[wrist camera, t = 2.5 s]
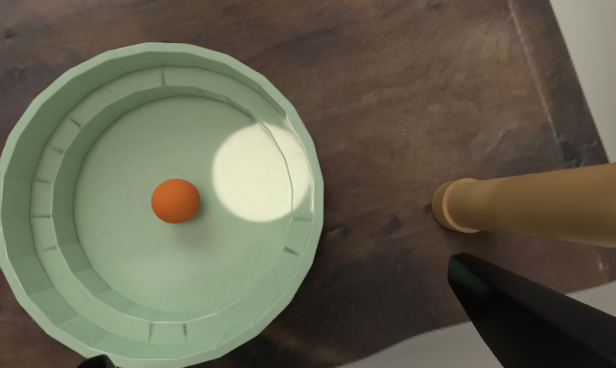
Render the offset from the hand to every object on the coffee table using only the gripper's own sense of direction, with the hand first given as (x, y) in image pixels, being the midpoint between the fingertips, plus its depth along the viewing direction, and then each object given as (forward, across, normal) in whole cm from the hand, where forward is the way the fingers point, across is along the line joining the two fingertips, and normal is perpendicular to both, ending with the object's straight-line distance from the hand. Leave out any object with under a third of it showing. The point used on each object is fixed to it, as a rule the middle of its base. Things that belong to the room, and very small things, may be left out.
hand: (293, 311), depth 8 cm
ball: (+14, +6, +3) cm, 15 cm away
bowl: (+16, +6, +4) cm, 17 cm away
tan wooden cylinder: (+12, -14, +7) cm, 19 cm away
